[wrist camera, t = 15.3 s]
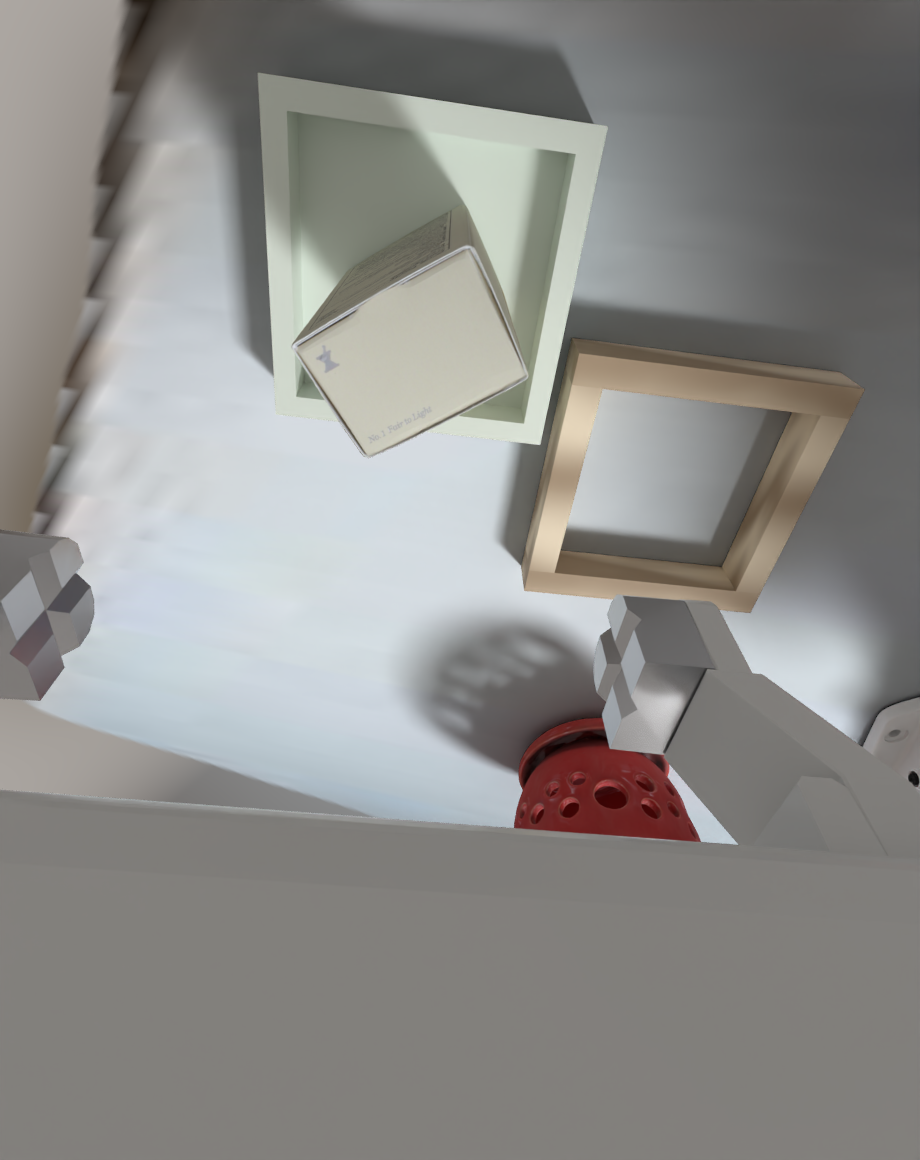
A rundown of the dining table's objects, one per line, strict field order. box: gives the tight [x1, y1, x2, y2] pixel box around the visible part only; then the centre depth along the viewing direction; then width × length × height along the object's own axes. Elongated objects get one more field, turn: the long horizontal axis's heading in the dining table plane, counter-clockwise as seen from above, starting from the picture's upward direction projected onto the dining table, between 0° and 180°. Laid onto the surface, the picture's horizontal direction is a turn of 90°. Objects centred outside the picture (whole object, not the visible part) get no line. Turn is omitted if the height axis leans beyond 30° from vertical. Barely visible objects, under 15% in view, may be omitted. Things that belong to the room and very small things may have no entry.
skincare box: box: [291, 205, 529, 458], centre depth 24 cm, size 6×4×12 cm
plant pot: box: [514, 718, 701, 842], centre depth 46 cm, size 13×13×12 cm
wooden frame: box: [521, 338, 865, 613], centre depth 35 cm, size 14×14×2 cm
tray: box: [258, 73, 608, 445], centre depth 28 cm, size 13×13×3 cm
